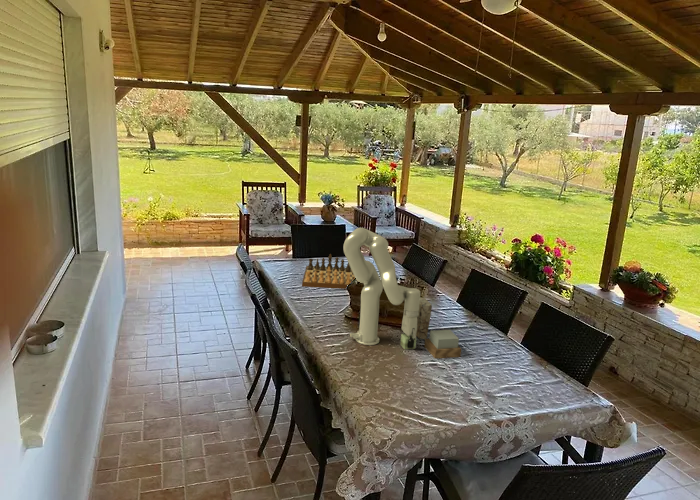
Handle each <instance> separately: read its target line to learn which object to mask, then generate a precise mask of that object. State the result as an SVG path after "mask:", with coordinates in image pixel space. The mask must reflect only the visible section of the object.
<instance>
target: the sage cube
mask: <svg viewBox="0 0 700 500" xmlns="http://www.w3.org/2000/svg"><path fill="white" fill-rule="evenodd" d="M411 335H412V334H411ZM411 337H412V336H410V338H411ZM408 340H409V336H407V335H406V334H403V333H401V335H400V346H401V347H402V348H403V349H404V350H414V349H416V346H417V337H416V338H415V341H414V347H413V348H408V347H407V346H408Z"/></svg>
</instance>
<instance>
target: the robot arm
mask: <svg viewBox="0 0 700 500" xmlns="http://www.w3.org/2000/svg"><path fill="white" fill-rule="evenodd" d="M363 246H365V247H366V248H369V252H370V254H371V256H372V259H373V261H374V263H375V265H376V267H375V265H374V264H373V263H372V262H371V261H370V260H367V259H366V258H365V256H364V253H363V252H362V250H361V247H363ZM388 248H389V241H388V240H387V239H386V238H385V237H383V236H381V235H379V234H377V233H376V232H373V231H371V230H369V229H367V228H365V227H357V228H355V229H354V230H353V231H351V232H350V233H349V235H348V236H347V237H346V238H345V240H344V243H343V254H344V255H345V258H346V261H347V264H348V263H349V265H350V267H351V270H352V272H353V274H354V276H355V278H356V280H357V281H358V282H360V283H361V284H363V287H362V288H361V292H360V293H361V294H360V315H359V327H358V328H359V329H358V330H357V332H355V333H354V332H353V333H352V332H351V333H349V336H350V338H353V339H355V341H356V342H357V343H358V344H360V345H365V346H375V345H377V344H379V342H380V338H379V336H378V328H379V327H378V324H379V315H380V314H379V313H380V297H381V294H382V292H383V290H384V293H385V294H386V297H387V299H388V301H389V302H390V303H391V304H392V305H393V306H399V305H401V304H402V303H403V302H404V304H403V305H404V307H403V308H404V309H403V316H402V321H401V331H403V332H402V334H406V335H407V336H409V340H408V346H407V347H408V348H413V347H414V341H415V338H416V339H417V336H416V333H417V317H418V314H419V304H420V298H421V291H420V289H418V288H413V287H407V286H403V285H399V284H398V281H397V275H396V266H395V264H394V261H393V259H392V256H391V254H390V252H389V249H388ZM376 268H377V269H376ZM411 334H412V335H411ZM410 336H412V337H411V338H410Z"/></svg>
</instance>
